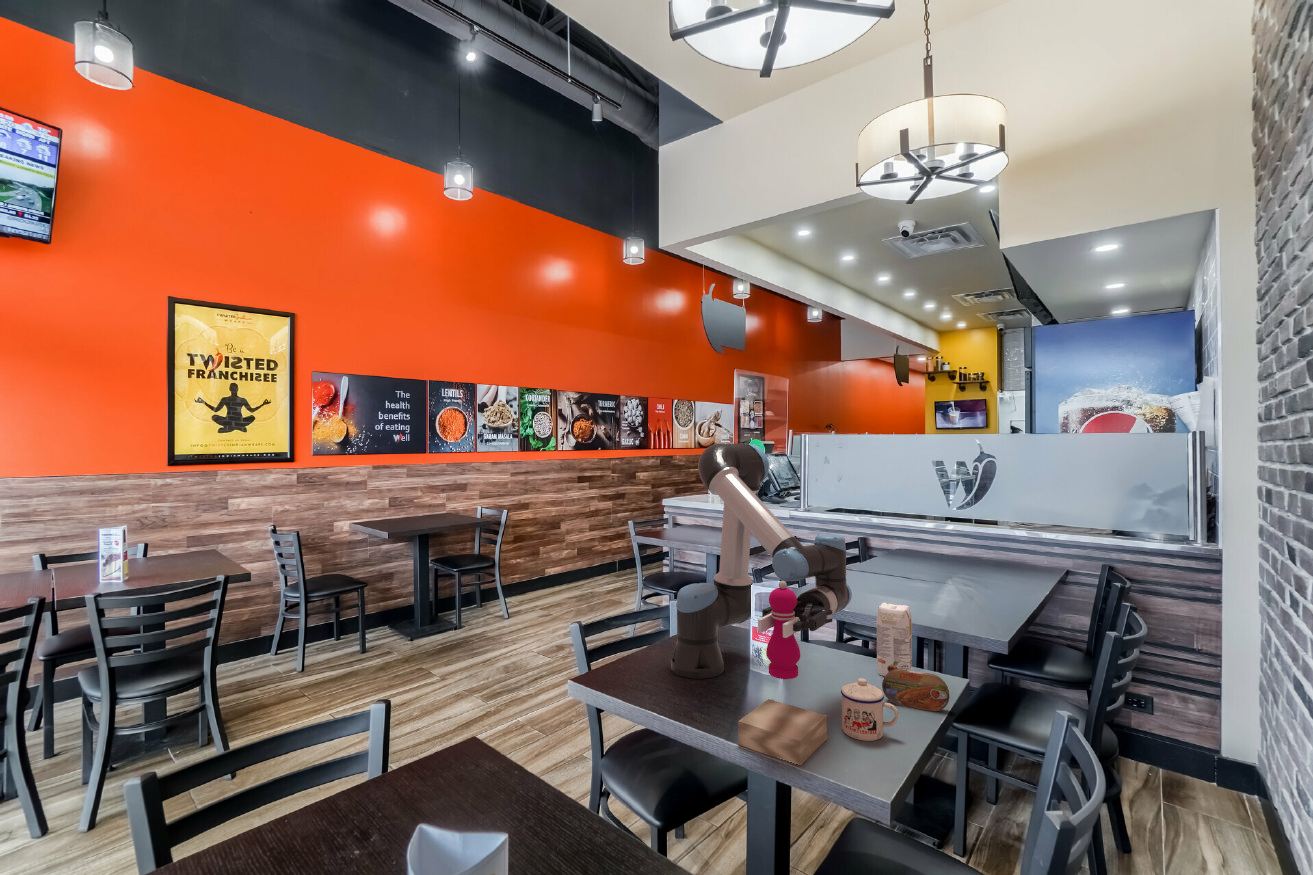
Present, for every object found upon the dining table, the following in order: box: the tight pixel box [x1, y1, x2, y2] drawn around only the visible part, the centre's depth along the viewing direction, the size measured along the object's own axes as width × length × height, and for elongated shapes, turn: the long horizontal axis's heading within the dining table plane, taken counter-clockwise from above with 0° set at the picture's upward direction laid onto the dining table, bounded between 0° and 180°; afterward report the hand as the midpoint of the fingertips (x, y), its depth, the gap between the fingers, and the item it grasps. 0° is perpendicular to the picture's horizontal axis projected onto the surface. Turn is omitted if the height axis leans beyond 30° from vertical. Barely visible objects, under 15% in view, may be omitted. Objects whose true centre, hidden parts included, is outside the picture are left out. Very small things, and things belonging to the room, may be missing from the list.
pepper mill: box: [765, 580, 801, 680], centre depth 129 cm, size 7×7×20 cm
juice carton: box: [876, 602, 913, 677], centre depth 166 cm, size 8×9×19 cm
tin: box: [881, 669, 950, 712], centre depth 146 cm, size 15×3×8 cm, turn 62°
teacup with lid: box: [840, 677, 899, 742], centre depth 132 cm, size 12×9×12 cm
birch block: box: [737, 699, 828, 766], centre depth 128 cm, size 14×14×5 cm
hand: (771, 628), depth 124 cm, fingers closed on pepper mill, 5 cm apart
